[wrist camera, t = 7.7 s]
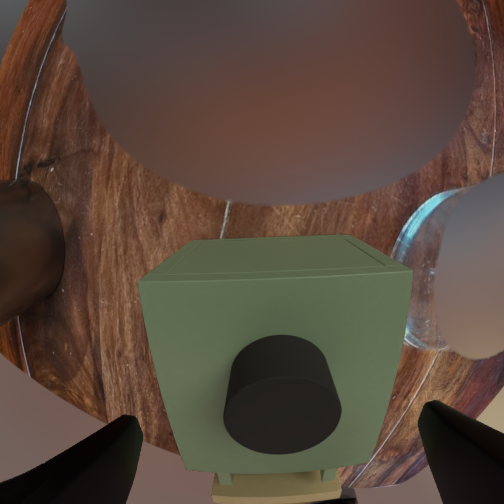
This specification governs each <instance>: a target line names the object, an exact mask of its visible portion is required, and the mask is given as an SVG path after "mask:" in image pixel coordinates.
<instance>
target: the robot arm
mask: <svg viewBox="0 0 504 504" xmlns="http://www.w3.org/2000/svg"><path fill="white" fill-rule="evenodd" d="M418 428H419V432H420V435H421V439H422V442H423V446H424V450H425V454H426V457H427V461H428V464H429V466H430V469H431V472H432V474H433V477H434V480H435V482H436V485H437V488H438V491H439V493H440V496H441V499H442V502H443V504H504V434H503V433H501V432H499V431H497V430H495V429H493V428H491V427H489V426H487V425H485V424H483V423H481V422H479V421H477V420H475V419H473V418H471V417H469V416H467V415H465V414H463V413H461V412H459V411H457V410H455V409H453V408H452V407H450V406H448V405H446V404H444V403H442V402H440V401H438V400H433V401H429V402H426V403H425V404H424V406H423V409H422V411H421V414H420V417H419V419H418ZM142 442H143V432H142V430H141V427H140V425H139V422H138V420H137V418H136V417H135V416H132V415H126V414H124V415H122V416H120V417H118V418H117V419H115V420H114V421H112V422H111V423H109V424H108V425H106V426H105V427H103V428H101V429H100V430H98V431H97V432H95V433H93V434H92V435H90V436H89V437H87V438H85V439H84V440H82V441H80V442H79V443H77V444H75V445H74V446H72V447H70V448H69V449H67V450H65V451H64V452H62V453H60V454H58V455H57V456H55V457H53V458H52V459H50V460H48V461H46V462H45V463H43V464H41V465H39V466H37V467H35V468H33V469H31V470H29V471H27V472H25V473H23V474H21V475H19V476H16V477H14V478H11V479H9V480H6V481H3V482H1V483H0V504H126V501H127V498H128V496H129V493H130V490H131V487H132V484H133V481H134V478H135V474H136V470H137V465H138V461H139V456H140V451H141V447H142ZM355 503H356V498H349V499H343V500H337V501H331V502H323V503H315V504H355Z"/></svg>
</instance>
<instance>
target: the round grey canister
mask: <svg viewBox="0 0 504 504" xmlns="http://www.w3.org/2000/svg"><path fill="white" fill-rule="evenodd" d="M64 256H65V248H64V237H63V230H62V227H61V223H60V218H59V216H58V213H57V210H56V208H55V206H54V204H53V202H52V200H51V198H50V197H49V195H48V194H47V193H46V192H45V190H44V189H43V188H42V187H41V186H39V185H38V184H37V183H35V182H33V181H31V180H28V179H10V180H0V326H2V325H4V324H5V323H7V322H8V321H10V320H11V319H13V318H15V317H16V316H18V315H19V314H21V313H23V312H24V311H26V310H28V309H29V308H31V307H32V306H34V305H36V304H37V303H39V302H41V301H43V300H44V299H46V298H48V297H49V296H50V295H51V294H52V293H53V292H54V290H55V289H56V287H57V286H58V284H59V281H60V279H61V276H62V272H63V267H64Z"/></svg>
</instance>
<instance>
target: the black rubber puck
mask: <svg viewBox="0 0 504 504" xmlns="http://www.w3.org/2000/svg"><path fill="white" fill-rule="evenodd" d="M341 413H342V408H341V403H340V400H339V396H338V393H337V390H336V387H335V384H334V381H333V378H332V375H331V372H330V369H329V367H328V364H327V361H326V358H325V356H324V354H323V353H322V352H321V350H320V349H319V348H318V347H317V346H316V345H314V344H313V343H311V342H310V341H308V340H306V339H303V338H301V337H297V336H293V335H272V336H267V337H264V338H260V339H258V340H256V341H254V342H252V343H250V344H249V345H247V346H246V347H245V348H243V349H242V350H241V351H240V352H239V354H238V355H237V356H236V358H235V360H234V362H233V364H232V367H231V372H230V378H229V384H228V390H227V395H226V401H225V407H224V413H223V422H224V425H225V428H226V430H227V432H228V433H229V435H230V436H231V437H232V438H233V439H234V440H235V441H236V442H237V443H239V444H240V445H242V446H243V447H245V448H248V449H250V450H253V451H255V452H259V453H264V454H272V455H284V454H292V453H297V452H301V451H304V450H307V449H310V448H312V447H314V446H316V445H318V444H320V443H321V442H323V441H324V440H325V439H327V438H328V437H329V436H330V435H331V434H332V433H333V432H334V430H335V429H336V427H337V426H338V423H339V421H340V418H341Z"/></svg>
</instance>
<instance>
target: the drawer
mask: <svg viewBox="0 0 504 504" xmlns="http://www.w3.org/2000/svg"><path fill="white" fill-rule="evenodd" d="M341 492H342V488H341V483H340V479H339V474H338V470H337V468H332V469H324V470H315V471H305V472H292V473H272V474H236V473H215V477H214V482H213V488H212V495H211V496H212V498H213V502H215V503H227V504H228V503H229V504H302V503H311V501H320V500H327V499H334V498H339V497H340V494H341Z"/></svg>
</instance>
